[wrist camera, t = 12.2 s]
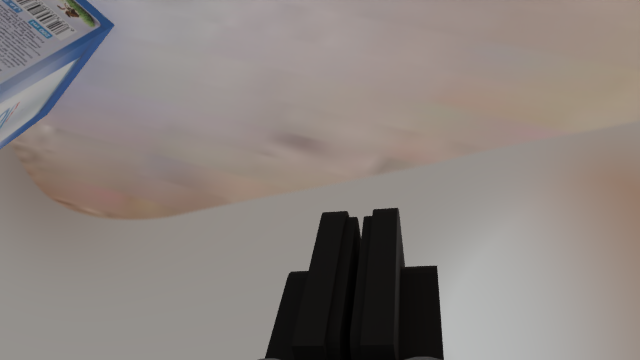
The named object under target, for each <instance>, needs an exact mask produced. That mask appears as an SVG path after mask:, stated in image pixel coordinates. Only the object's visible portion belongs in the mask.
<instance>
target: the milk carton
mask: <svg viewBox="0 0 640 360" xmlns="http://www.w3.org/2000/svg"><path fill="white" fill-rule="evenodd" d="M113 26H114V24H113V23H111V22H110V21H109V20H108V19H107V18H106V17H105V16H103V15H102V14H101V13H100V12H99V11H98V10H97V9H96V8H94V7H93V6H92V5H91V4H90V3H89V2H88V1H87V0H0V149H1V148H2V147H4V146H5V145H6V144H8V143H9V142H11V141H12V140H13V139H15V138H16V137H17V136H19V135H20V134H21V133H23V132H24V131H25V130H27V129H28V128H29V127H31V126H32V125H34V124H35V123H36V122H38V121H39V120H40V119H42V118H43V117H44V116H46V115H47V114H48V113H49V111H50V110H51V109H52V107H53V106H54V105H55V103H56V102H57V101H58V99H59V98H60V97H61V95H62V94H63V93H64V91H65V90H66V89H67V87H68V86H69V85H70V83H71V82H72V81H73V79H74V78H75V77H76V75H77V74H78V73H79V71H80V70H81V69H82V67H83V66H84V65H85V63H86V62H87V61H88V59H89V58H90V57H91V55H92V54H93V53H94V51H95V50H96V49H97V48H98V46H99V45H100V44H101V42H102V41H103V40H104V38H105V37H106V36H107V34H108V33H109V32H110V30H111V29H112V28H113Z"/></svg>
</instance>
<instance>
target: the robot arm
mask: <svg viewBox="0 0 640 360" xmlns="http://www.w3.org/2000/svg"><path fill="white" fill-rule="evenodd" d="M259 360H444V357H443V342H442V328H441V314H440V300H439V287H438V273H437V266H417V267H405V263H404V253H403V244H402V235H401V226H400V217H399V210H398V208H389V209H374V210H373V215H372V216H366V217H364V221H363V229H362V237H361V236H360V229H359V223H358V218H357V217H349V215H348V212H347V211H340V212H324V213H322V216H321V220H320V224H319V229H318V233H317V237H316V242H315V246H314V250H313V254H312V259H311V263H310V267H309V271H297V272H291V273H289V275H288V278H287V281H286V285H285V288H284V292H283V295H282V299H281V302H280V306H279V310H278V314H277V317H276V320H275V324H274V328H273V331H272V335H271V339H270V342H269V345H268V349H267V353H266V356H265V359H259Z"/></svg>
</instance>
